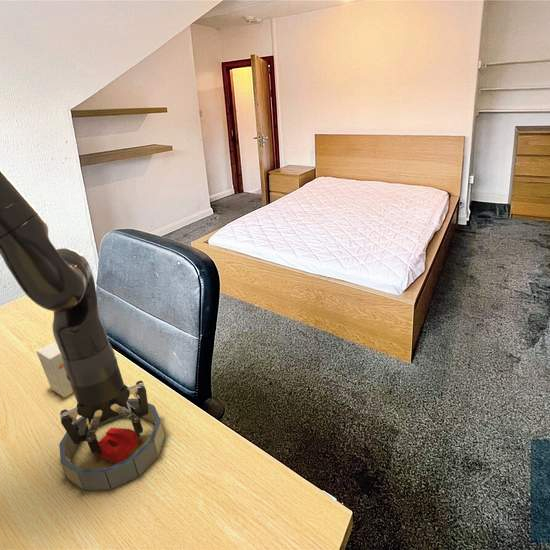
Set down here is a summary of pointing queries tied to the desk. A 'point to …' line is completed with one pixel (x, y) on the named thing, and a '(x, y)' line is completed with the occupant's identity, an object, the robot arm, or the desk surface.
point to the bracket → (118, 444)
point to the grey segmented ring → (119, 471)
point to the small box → (54, 369)
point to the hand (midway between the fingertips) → (118, 442)
